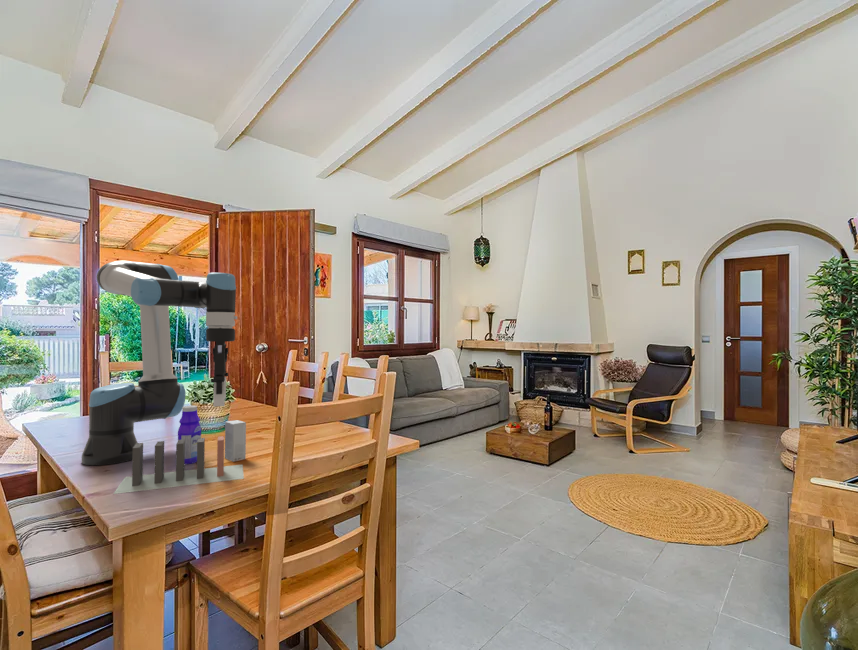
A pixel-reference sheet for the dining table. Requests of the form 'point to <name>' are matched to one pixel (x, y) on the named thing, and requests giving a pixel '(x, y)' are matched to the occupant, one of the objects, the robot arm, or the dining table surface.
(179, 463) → the domino
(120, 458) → the robot arm
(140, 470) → the domino
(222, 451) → the end domino
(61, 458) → the dining table surface
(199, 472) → the domino
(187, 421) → the bottle
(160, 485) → the mat
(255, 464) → the dining table surface
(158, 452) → the domino
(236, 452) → the skincare box
